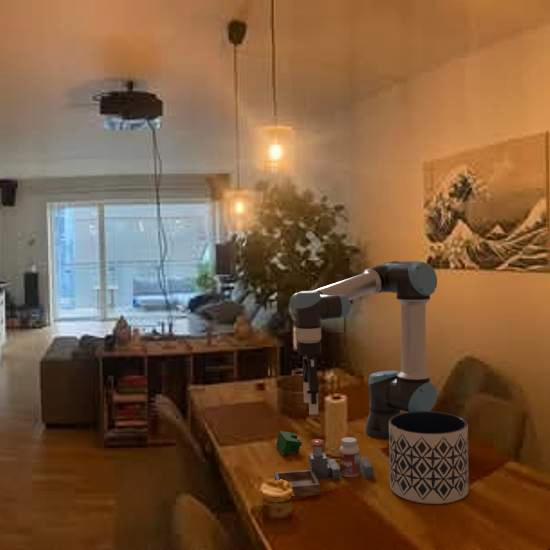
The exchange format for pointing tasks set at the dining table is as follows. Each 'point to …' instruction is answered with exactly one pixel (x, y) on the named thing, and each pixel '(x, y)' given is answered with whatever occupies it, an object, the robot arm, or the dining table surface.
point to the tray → (301, 482)
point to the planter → (428, 457)
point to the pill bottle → (349, 458)
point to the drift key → (317, 447)
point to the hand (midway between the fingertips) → (310, 408)
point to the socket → (335, 467)
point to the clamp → (288, 443)
